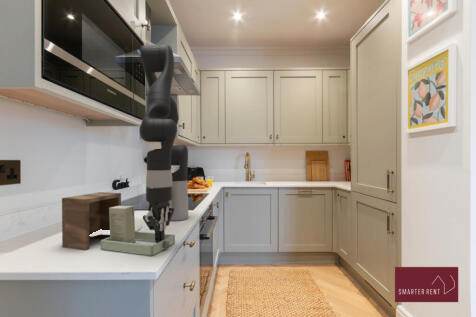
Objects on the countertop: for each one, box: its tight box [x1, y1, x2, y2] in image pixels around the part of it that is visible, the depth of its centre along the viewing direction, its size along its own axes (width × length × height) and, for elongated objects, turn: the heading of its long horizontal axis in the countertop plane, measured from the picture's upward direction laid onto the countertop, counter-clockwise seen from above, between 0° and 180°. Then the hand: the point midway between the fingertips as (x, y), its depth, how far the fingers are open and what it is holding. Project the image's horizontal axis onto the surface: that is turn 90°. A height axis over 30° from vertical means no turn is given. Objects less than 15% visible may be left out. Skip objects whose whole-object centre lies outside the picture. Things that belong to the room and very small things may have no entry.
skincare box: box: [109, 205, 136, 244], centre depth 81 cm, size 6×4×12 cm
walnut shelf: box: [61, 191, 122, 251], centre depth 86 cm, size 14×10×15 cm, turn 162°
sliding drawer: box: [100, 230, 176, 256], centre depth 80 cm, size 11×20×2 cm, turn 72°
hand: (159, 242), depth 78 cm, fingers closed
